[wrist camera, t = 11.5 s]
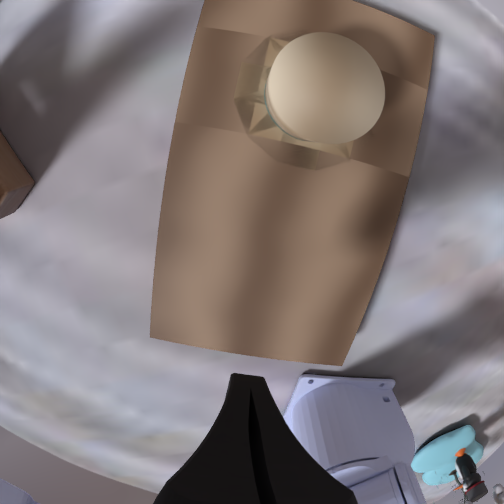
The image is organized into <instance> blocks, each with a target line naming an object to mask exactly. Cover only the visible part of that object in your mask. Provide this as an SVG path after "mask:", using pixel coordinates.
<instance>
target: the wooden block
mask: <svg viewBox="0 0 504 504" xmlns="http://www.w3.org/2000/svg"><path fill="white" fill-rule="evenodd" d="M33 185H34V180H33V179H32V177H31V176H30V175H29V173H28V172H27V170H26V169H25V168H24V166H23V165H22V163H21V162H20V160H19V159H18V157H17V156H16V154H15V153H14V151H13V150H12V148H11V147H10V145H9V144H8V142H7V141H6V139H5V138H4V136H3V134H2V133H1V131H0V219H1V218H3V217H6V216H8V215H10V214H12V213H14V212H15V211H16V210H17V208H18V207H19V205H20V204H21V202H22V201H23V199H24V198H25V196H26V195H27V194H28V192H29V191H30V189H31V188H32V187H33Z"/></svg>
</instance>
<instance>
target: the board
mask: <svg viewBox="0 0 504 504" xmlns="http://www.w3.org/2000/svg"><path fill="white" fill-rule="evenodd" d="M316 32H327V33H334V34H338V35H342V36H344V37H347V38H349V39H351V40H353V41H355V42H356V43H357V44H359V45H360V46H362V47H363V48H364V49H365V50H366V51H367V52H368V53H369V54H370V55H371V56H372V58H373V59H374V60H375V62H376V64H377V65H378V67H379V69H380V71H381V74H382V77H383V81H384V86H385V101H384V106H383V110H382V112H381V115H380V117H379V119H378V120H377V122H376V123H375V125H374V126H373V127H372V128H371V129H370V130H369V131H368V132H367V133H366V134H364V135H363V136H361V137H359V138H357V139H355V140H353V141H350V142H346V143H341V144H325V143H317V142H308V141H302V140H299V139H296V138H294V137H291V136H290V135H288V134H286V133H285V132H283V131H282V130H281V129H280V128H279V127H278V126H277V125H276V124H275V123H274V121H273V120H272V119H271V117H270V115H269V113H268V111H267V108H266V104H265V98H264V90H265V84H266V81H267V78H268V76H269V73H270V70H271V68H272V65H273V63H274V61H275V59H276V57H277V55H278V54H279V52H280V51H281V50H282V49H283V48H284V47H285V46H286V45H287V44H288V43H290V42H291V41H293V40H294V39H296V38H298V37H300V36H303V35H306V34H310V33H316ZM434 39H435V36H434V35H432V34H430V33H428V32H426V31H424V30H422V29H420V28H418V27H416V26H414V25H412V24H410V23H408V22H405V21H403V20H401V19H399V18H396V17H394V16H392V15H389V14H387V13H385V12H382V11H380V10H377V9H375V8H372V7H369V6H367V5H364V4H361V3H358V2H356V1H353V0H205V1H204V4H203V8H202V11H201V14H200V18H199V22H198V25H197V29H196V32H195V36H194V40H193V44H192V48H191V52H190V56H189V60H188V64H187V68H186V72H185V77H184V81H183V86H182V90H181V95H180V100H179V104H178V109H177V114H176V119H175V124H174V130H173V135H172V141H171V146H170V152H169V158H168V164H167V170H166V177H165V184H164V190H163V198H162V205H161V213H160V221H159V229H158V238H157V247H156V257H155V268H154V279H153V292H152V306H151V324H150V337H151V338H156V339H160V340H165V341H170V342H175V343H180V344H185V345H190V346H195V347H201V348H206V349H212V350H217V351H223V352H229V353H236V354H242V355H249V356H256V357H263V358H270V359H278V360H286V361H295V362H304V363H314V364H324V365H336V366H342V365H343V362H344V360H345V358H346V356H347V354H348V351H349V349H350V347H351V345H352V342H353V340H354V338H355V335H356V333H357V331H358V328H359V326H360V323H361V321H362V318H363V316H364V314H365V311H366V309H367V306H368V303H369V301H370V298H371V296H372V293H373V290H374V288H375V285H376V282H377V280H378V277H379V274H380V271H381V268H382V266H383V263H384V260H385V257H386V254H387V251H388V248H389V245H390V242H391V239H392V236H393V233H394V229H395V226H396V223H397V220H398V216H399V213H400V209H401V206H402V202H403V199H404V195H405V192H406V188H407V184H408V180H409V177H410V173H411V169H412V165H413V161H414V156H415V152H416V148H417V143H418V139H419V134H420V129H421V124H422V119H423V114H424V109H425V103H426V98H427V92H428V85H429V79H430V72H431V65H432V57H433V48H434Z"/></svg>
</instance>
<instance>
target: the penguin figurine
mask: <svg viewBox="0 0 504 504" xmlns="http://www.w3.org/2000/svg"><path fill="white" fill-rule="evenodd" d="M475 433H476V432H475V430H474V429H473V427H472V426H471V425H465V426H463V427H461V428H458V429H456V430H454V431H451V432H449V433H446V434H444V435H442V436H440V437H438V438H436V439H434V440H433V441H431V442H430V443H428V444H427V445H426V446H424V447H423V448H422V449H421V450H420V451H419V452H417V453H416V454H415V456H414V458H413V461H412V463H411V467H412V469H413V470H414V471H415V472H418V473H423V476H422V477H423V481H424V482H425V483H426V484H428V485H439V484H443V483H448V482H450V483H451V481H453V480H456V482H457V483H458V484H459V487H457V488H456V489H460V488H461V489H462V491H463V493H464V499H465V500H466V499H467V500H466V501H467V502H466V503H465V500H464V504H473V502H475V501H477V500H478V499H480V498H482V497H483V496H484V495H485V494H487V493H488V490H487V488H486V486H485V484H484V483H485V482H484V481H481V476H480V475H479V474H478V473H476V470H477V469H476V467H477V466H476V465H475V464H476V463H477V462H478V461H479V460H480V459H481V458H482V456H483V450H484V448H483V446H482V445H481V444H479V443H478V442H476V441H475ZM458 477H460V478H461V479H463V480H464V481H463V484H461V483H460V482H459V480H458ZM461 479H460V480H461ZM461 482H462V481H461ZM453 487H454V486H453ZM437 488H438V486H437ZM451 489H452V488H451ZM456 489H455V490H456ZM465 491H466V492H465ZM468 499H469V500H468ZM493 500H494V503H495V504H504V487H502V485H501V484H496V485H495V486H494V487H493ZM433 503H434V502H433Z"/></svg>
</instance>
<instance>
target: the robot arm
mask: <svg viewBox="0 0 504 504" xmlns="http://www.w3.org/2000/svg"><path fill="white" fill-rule="evenodd" d="M311 379H312V380H311ZM309 380H311V381H309ZM394 386H395V381H394V380H393V379H371V378H350V377H335V376H321V375H310V374H304V375H302V376H300V378H299V380H298V382H297V385H296V387H295V390H294V392H293V395H292V397H291V399H290V402H289V404H288V406H287V409H286V411H285V413H284V416H283V417H282V415H281V413H280V411H279V409H278V407H277V406H276V404H275V402H274V399H273V397H272V395H271V393H270V391H269V388H268V386H267V383H266V381H265V379H264V377H260V376H252V375H244V374H237V373H233V374H231V377H230V381H229V385H228V389H227V393H226V398H225V401H224V404H223V406H222V409H221V411H220V413H219V415H218V417H217V419H216V420H215V422H214V424H213V426H212V428H211V429H210V431H209V432H208V434H207V436H206V437H205V439H204V440H203V441H202V443H201V444H200V446H199V447H198V448H197V450H196V451H195V452H194V453H193V455H192V456H191V457H190V458H189V459H188V460H187V462H186V463H185V464H184V465H183V466H182V467H181V468H180V469H179V470H178V471H177V472H176V473H175V474H174V475H173V476H172V477H171V478H170V479H169V480H168V481H167V482H166V484H165V485H164V487H163V488H162V490H161V491H160V493H159V494H158V496H157V497H156V499H155V501H154V503H153V504H427V503H426V501H425V498H424V496H423V493H422V491H421V488H420V486H419V483H418V481H417V478H416V476H415V473H414V471H413V469H412V467H411V463H412V461H413V458H414V452H415V442H414V436H413V433H412V430H411V428H410V426H409V424H408V422H407V419H406V417H405V415H404V413H403V411H402V409H401V407H400V405H399V403H398V401H397V399H396V397H395V395H394V393H393V391H392V389H393V387H394ZM0 504H40V503H37V502H35V501H34V500H33V498H32V497H31V496H30V495H29V494H28V493H27V492H25V491H24V490H22V489H20V488H18V487H16V486H14V485H12V484H11V483H9V482H7V481H5V480H3V479H1V478H0Z"/></svg>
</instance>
